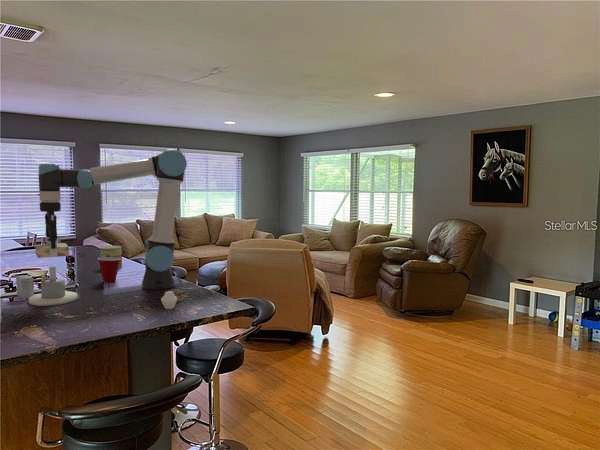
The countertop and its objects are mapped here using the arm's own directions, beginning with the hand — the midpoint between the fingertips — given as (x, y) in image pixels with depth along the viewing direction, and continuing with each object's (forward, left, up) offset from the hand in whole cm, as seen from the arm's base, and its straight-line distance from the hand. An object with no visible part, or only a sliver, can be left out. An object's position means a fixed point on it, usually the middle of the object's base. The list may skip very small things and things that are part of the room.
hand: (51, 254), depth 185 cm
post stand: (0, 0, -19) cm, 19 cm away
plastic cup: (+8, -36, -20) cm, 42 cm away
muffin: (-50, -14, -20) cm, 55 cm away
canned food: (+36, -62, -20) cm, 74 cm away
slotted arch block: (0, 0, 0) cm, 0 cm away
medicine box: (+15, +2, -20) cm, 25 cm away
